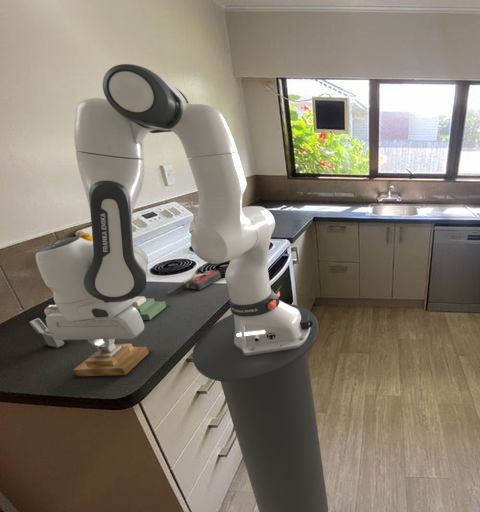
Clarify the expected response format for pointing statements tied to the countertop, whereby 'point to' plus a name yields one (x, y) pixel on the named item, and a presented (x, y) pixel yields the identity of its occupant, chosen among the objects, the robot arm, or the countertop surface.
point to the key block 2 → (150, 308)
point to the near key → (108, 353)
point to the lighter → (45, 333)
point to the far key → (138, 301)
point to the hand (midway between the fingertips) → (107, 350)
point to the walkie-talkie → (199, 281)
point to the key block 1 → (112, 362)
